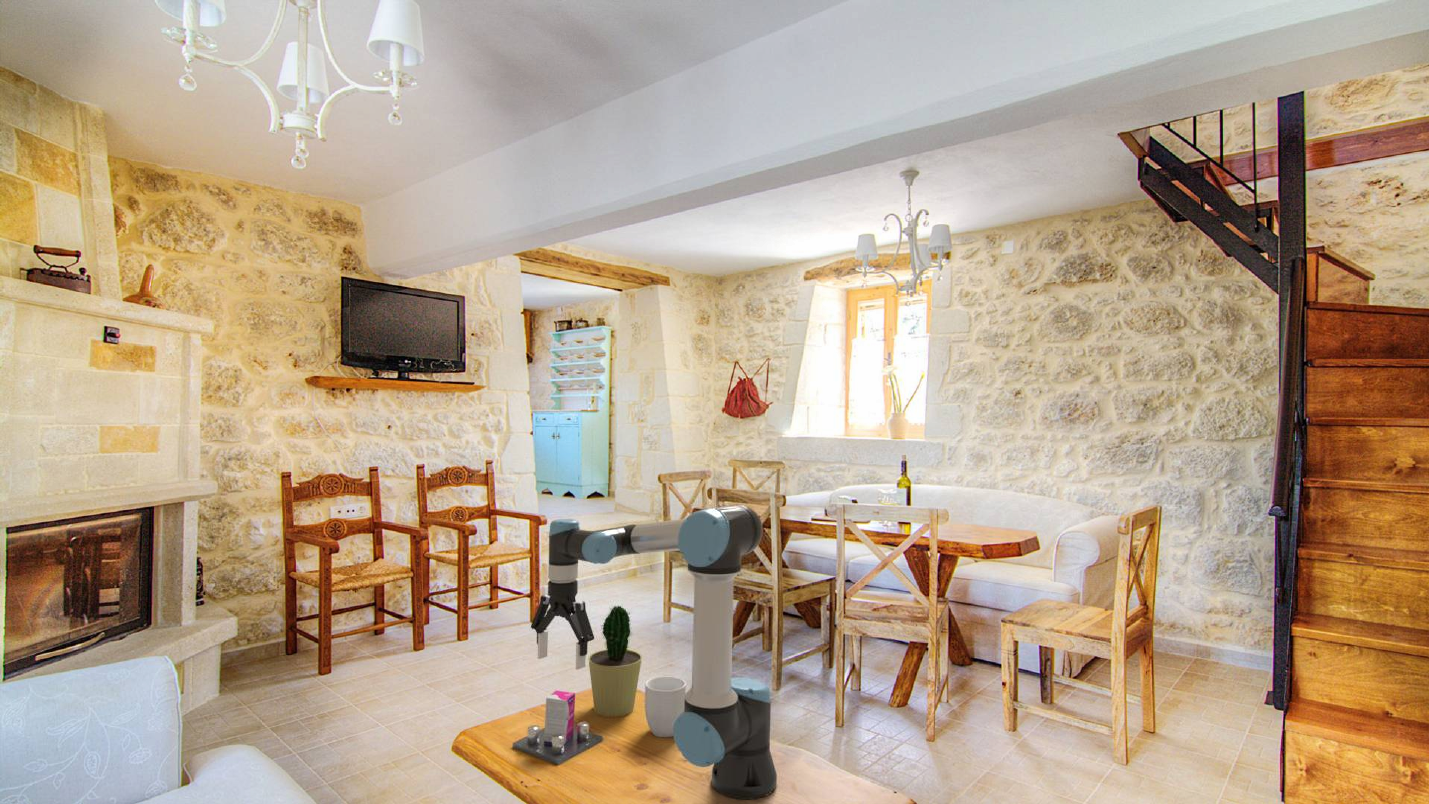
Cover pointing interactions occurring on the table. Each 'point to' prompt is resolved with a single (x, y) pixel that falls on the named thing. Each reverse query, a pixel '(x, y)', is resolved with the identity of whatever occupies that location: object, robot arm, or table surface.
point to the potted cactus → (615, 668)
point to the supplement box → (559, 716)
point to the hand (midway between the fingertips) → (561, 662)
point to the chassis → (557, 743)
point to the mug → (664, 703)
